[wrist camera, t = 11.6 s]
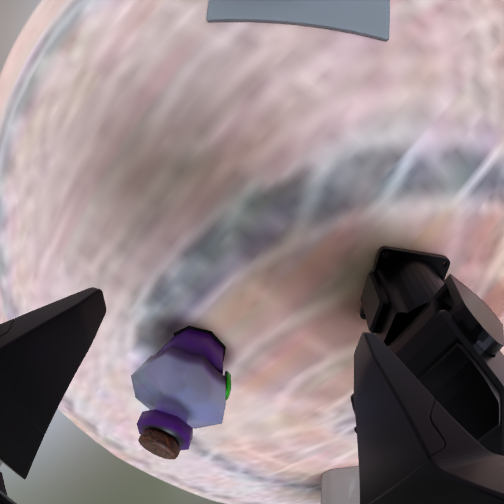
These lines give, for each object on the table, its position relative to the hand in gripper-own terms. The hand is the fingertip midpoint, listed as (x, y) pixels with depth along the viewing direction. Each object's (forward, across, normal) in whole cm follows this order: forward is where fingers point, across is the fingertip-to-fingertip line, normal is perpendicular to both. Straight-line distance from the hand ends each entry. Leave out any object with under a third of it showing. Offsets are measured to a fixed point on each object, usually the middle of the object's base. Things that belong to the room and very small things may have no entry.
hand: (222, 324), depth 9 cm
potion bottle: (+13, +5, +15) cm, 21 cm away
